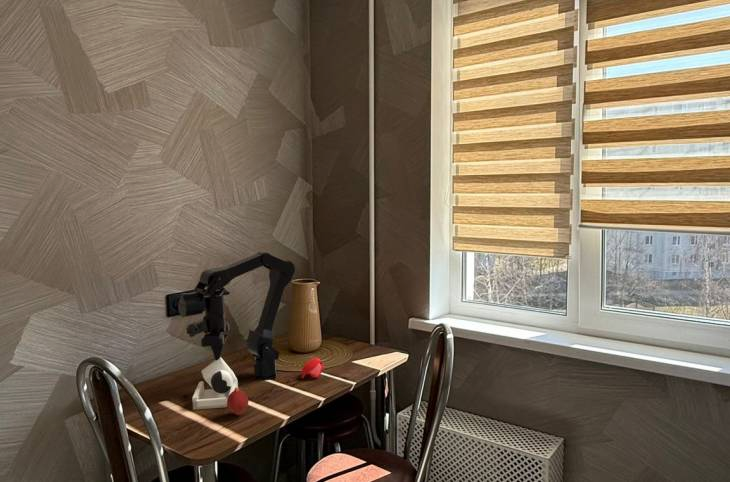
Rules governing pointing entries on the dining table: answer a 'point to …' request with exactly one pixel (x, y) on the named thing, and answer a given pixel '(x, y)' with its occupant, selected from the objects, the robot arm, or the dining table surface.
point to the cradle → (210, 397)
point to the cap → (312, 368)
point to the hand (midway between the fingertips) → (217, 360)
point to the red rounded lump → (237, 401)
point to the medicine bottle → (219, 376)
